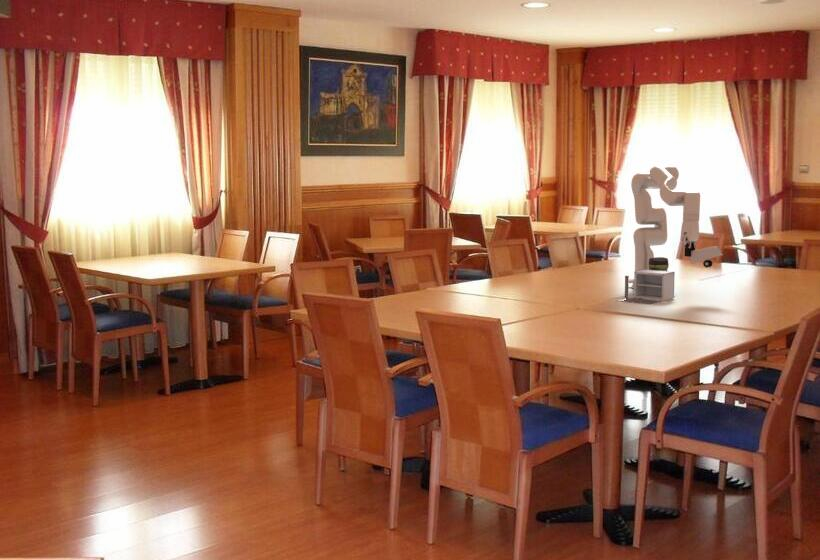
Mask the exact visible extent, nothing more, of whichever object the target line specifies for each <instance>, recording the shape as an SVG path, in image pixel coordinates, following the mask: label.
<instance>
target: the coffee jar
mask: <svg viewBox="0 0 820 560" xmlns="http://www.w3.org/2000/svg"><path fill="white" fill-rule="evenodd" d="M669 264H670V263H669V259H668V258H667V257H662V256H661V257H654V258H650V259H649V265H648V266H649V269H650V270H657V271H668V269H669V266H670V265H669Z"/></svg>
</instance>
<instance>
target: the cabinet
mask: <svg viewBox="0 0 820 560" xmlns="http://www.w3.org/2000/svg"><path fill="white" fill-rule="evenodd" d="M633 273H634V278H633V279H634V288H633V298H637V299H639V298H642V299H647V300H649V299H650V300H657V301H661V302H665V301H666V302H667V301H669V300H673V299H674V300H675V271H670V270H669V271H668V270H667V271H657V270H640V271H635V270H634V271H633Z"/></svg>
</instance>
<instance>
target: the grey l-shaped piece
mask: <svg viewBox="0 0 820 560" xmlns="http://www.w3.org/2000/svg"><path fill="white" fill-rule="evenodd" d="M629 277H630V276H629V275H625V276H624V298H626V300H624V301H627V302H626V303H632V302H634V304H635V303H636V304H641V305H642V304H644V305H652V304H656V303H661V302H662V301H659V300H649V299H639V298H634V297H629Z"/></svg>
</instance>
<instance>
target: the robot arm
mask: <svg viewBox="0 0 820 560" xmlns="http://www.w3.org/2000/svg"><path fill="white" fill-rule="evenodd" d="M679 172H680V171H679V170H678V168H677V167H676V166H674V165H655V166H653V167H652V168H650V170H649V172H647V171H646V172H645V171H644V172H638V173H636V174H635V175H633V177H632V179H631V186H630V187H631V191H632V195H633V198H634V200H633V201H634V214H635V216H634V217H635V221H636V223H637V224H638V225H641V226H642V225H643V226H646V225H647V227H639V228H637V229H635V230H634V232H633V236H632V237H633V243H634V244H633V245H634V271H640V270H650V269H649V266H648V265H649V259H650V258H655V254H654V251H653V249H652V247H653V246H663V245H665V244H666V243H667V241H668V223H667V221H668V219H667V213H666V209H665V208H664V207H662V206H659V205H658V206H657V205H655V206H653V205H652V196H651V194H650V192H648V190H655V189H656V190H657V189H659V197H660V199H661V201H663V202H664V203H665V204H666V205H667V206H669V207H682V210H683V212H682V223H681V230H680V241H681V242H682V244H683V247H684V254H683V255H684V257H688V258H689V257H691V251H694V250H696V244H697V243H698V241H699V237H700V223H699V221H700V207H701V194H700V191H693V190H690V189H685V190H684V189H683V190H682V189H681V190H680V189H677V190H675V189H676V187H677V186H678V178H679V175H680V174H679ZM648 225H649V227H648ZM651 225H652V227H651ZM653 226H654V227H653ZM651 246H652V247H651ZM628 284H632V285H631V289H634V278H633V279H629V280H628Z"/></svg>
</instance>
